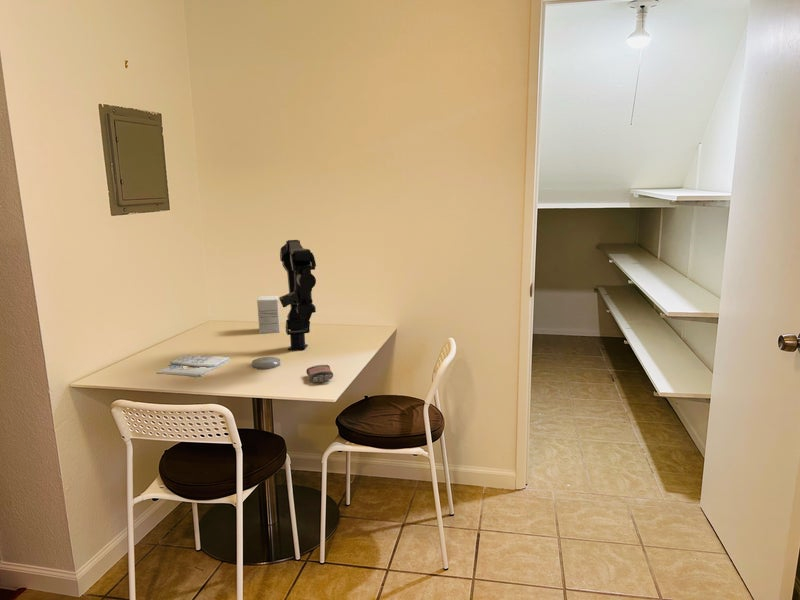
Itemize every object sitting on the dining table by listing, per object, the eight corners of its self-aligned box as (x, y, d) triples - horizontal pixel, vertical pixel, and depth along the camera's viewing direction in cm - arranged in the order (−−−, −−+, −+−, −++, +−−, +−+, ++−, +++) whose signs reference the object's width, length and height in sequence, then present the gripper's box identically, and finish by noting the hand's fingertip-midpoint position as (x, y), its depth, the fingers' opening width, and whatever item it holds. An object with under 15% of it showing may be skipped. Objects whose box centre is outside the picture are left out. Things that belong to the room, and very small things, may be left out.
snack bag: (232, 361, 223) (231, 356, 222) (199, 379, 204) (198, 373, 203) (188, 358, 228) (187, 353, 228) (152, 375, 209) (151, 369, 209)
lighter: (306, 376, 204) (310, 386, 194) (305, 367, 203) (309, 376, 194) (330, 372, 206) (335, 382, 196) (329, 363, 205) (333, 372, 195)
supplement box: (259, 328, 269) (257, 296, 266) (280, 327, 271) (278, 295, 268) (258, 333, 260) (256, 300, 257) (279, 332, 262) (277, 299, 259)
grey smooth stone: (257, 360, 222) (256, 356, 221) (283, 360, 221) (283, 357, 221) (248, 369, 212) (247, 365, 212) (275, 369, 211) (275, 365, 211)
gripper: (278, 282, 220) (280, 323, 223) (281, 291, 202) (284, 335, 206) (308, 280, 223) (310, 321, 226) (314, 288, 205) (316, 333, 208)
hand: (305, 327), depth 216 cm, fingers closed
